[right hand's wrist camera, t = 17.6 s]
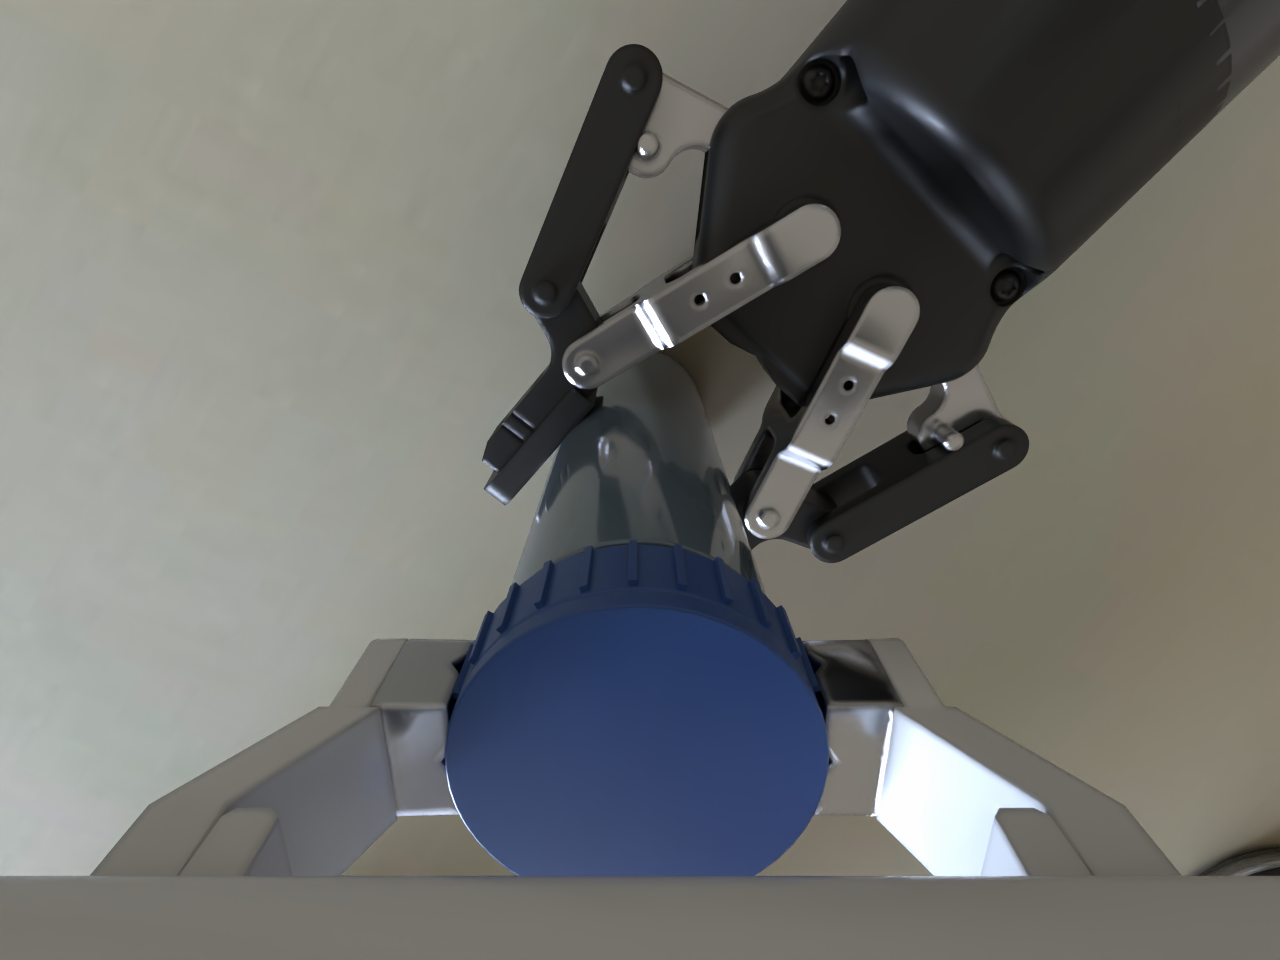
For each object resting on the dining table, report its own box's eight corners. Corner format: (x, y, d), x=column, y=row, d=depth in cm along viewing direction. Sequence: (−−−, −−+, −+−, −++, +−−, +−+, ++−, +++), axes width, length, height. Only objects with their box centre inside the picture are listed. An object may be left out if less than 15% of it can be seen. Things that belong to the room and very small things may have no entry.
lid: (712, 474, 9) (726, 526, 8) (858, 743, 11) (895, 830, 9) (398, 633, 10) (356, 708, 8) (577, 861, 12) (569, 958, 10)
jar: (711, 457, 25) (821, 828, 10) (590, 482, 26) (521, 877, 10) (687, 335, 24) (777, 556, 9) (559, 363, 24) (426, 624, 9)
